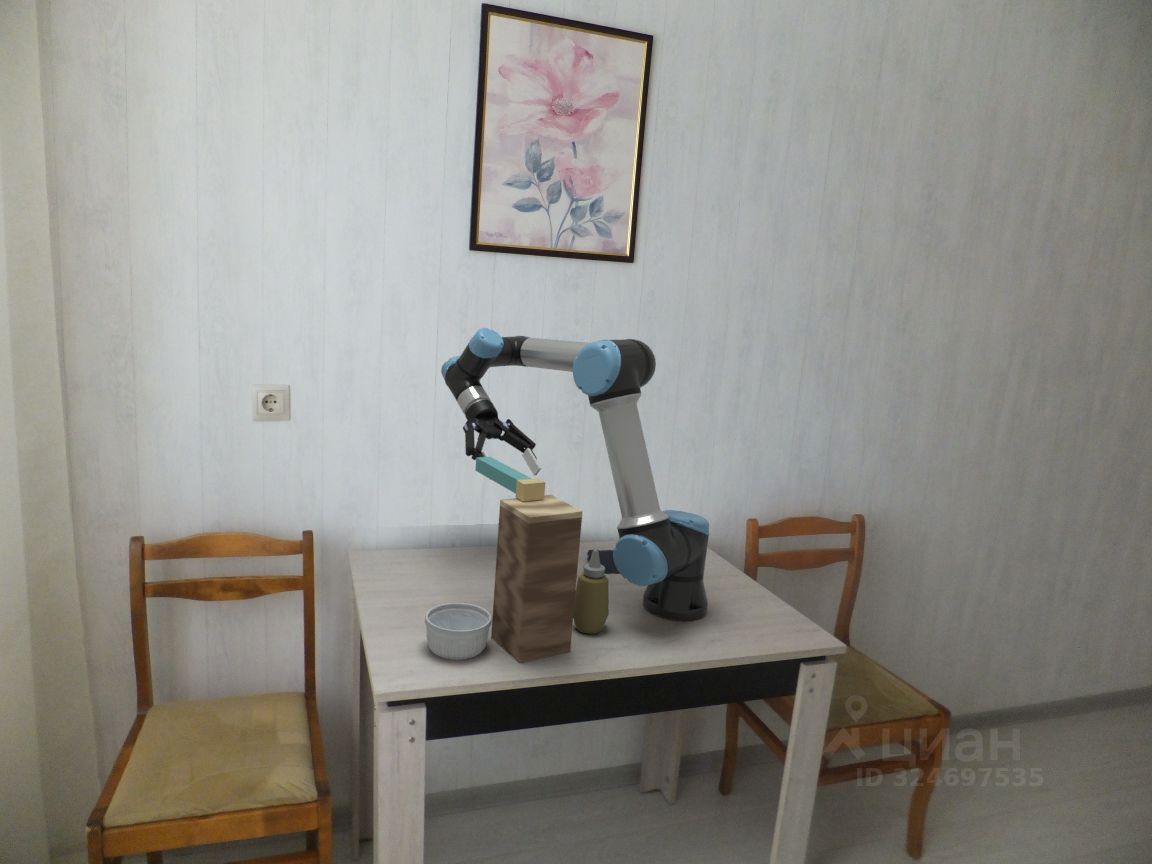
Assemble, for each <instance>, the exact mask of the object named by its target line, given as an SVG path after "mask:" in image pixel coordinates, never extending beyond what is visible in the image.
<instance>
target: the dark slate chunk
mask: <svg viewBox="0 0 1152 864" xmlns="http://www.w3.org/2000/svg"><path fill="white" fill-rule="evenodd" d="M593 550H594V549H588V551H587V553H586V555H587V556H588V557H587V558H588V559H589V561H590V559H591V556H592V553H593ZM597 550H598V551H599V558H600V564H601V565H603V566H604V567H605V574H604V575H621V574H620V573H619V571H618V570H617V568H616V566H615V563H614V559H613V550H614V549H604V550H600V549H597Z"/></svg>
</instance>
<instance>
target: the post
mask: <svg viewBox="0 0 1152 864" xmlns="http://www.w3.org/2000/svg"><path fill="white" fill-rule="evenodd" d="M582 521H583V510H580V509H579V508H577V507H575V506H574V505H572V504H570V503H568V502H566V501H564V500H562V499H560V498H558V497H556V496H554V495H552V494H545V495H544V499H542V500H532V501H521V500H519V499H518V498H516V497H515V498H514V497H512V498H504V499H500V501H499V515H498V527H497V528H498V529H497V543H496V559H495V562H496V563H495V575H494V590H493V602H492V603H493V606H492V616H491V633H490V638H491V639H492V640H493V641H494V642H495V643H496V644H498V646H499V647H501V648H502V649H503V650H504V651H505V652H506V653H507V654H509V656H511V657H512V658H513V659H514V660H515V661H516V662H518V663H519V664H521V663H524V662H530V661H533V660H538V659H541V658H542V659H543V658H548V657H552V656H556V655H561V654H565V653H569V652H571V648H572V647H571V645H572V635H573V625H574V624H573V623H574V619H573V614H574V603H575V592H576V586H577V581H578V567H579V554H580V546H581V544H580V543H581V536H582V535H581V531H582Z"/></svg>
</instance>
